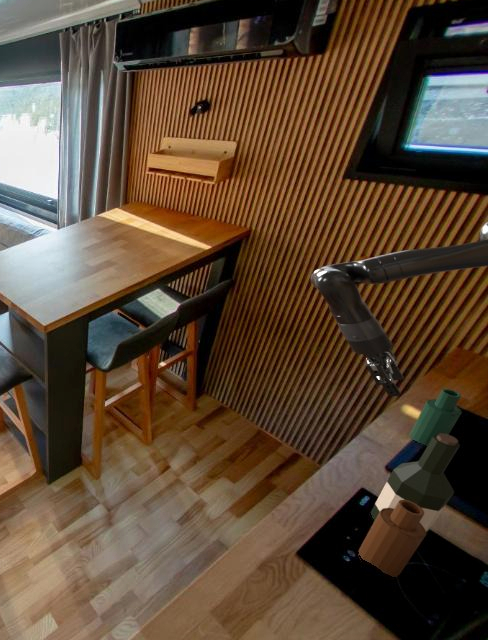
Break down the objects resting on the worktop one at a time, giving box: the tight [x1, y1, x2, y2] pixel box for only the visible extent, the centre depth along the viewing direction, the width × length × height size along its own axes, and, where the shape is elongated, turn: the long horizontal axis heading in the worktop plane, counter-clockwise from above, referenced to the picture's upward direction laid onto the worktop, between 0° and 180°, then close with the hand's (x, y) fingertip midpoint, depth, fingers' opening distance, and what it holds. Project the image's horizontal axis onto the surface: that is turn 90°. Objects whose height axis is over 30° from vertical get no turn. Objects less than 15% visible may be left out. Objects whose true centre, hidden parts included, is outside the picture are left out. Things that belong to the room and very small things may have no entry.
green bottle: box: [409, 388, 462, 446], centre depth 98 cm, size 6×6×18 cm
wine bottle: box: [370, 433, 461, 535], centre depth 79 cm, size 8×8×30 cm
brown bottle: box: [358, 500, 427, 578], centre depth 76 cm, size 6×6×20 cm
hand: (396, 387), depth 96 cm, fingers open, 8 cm apart
